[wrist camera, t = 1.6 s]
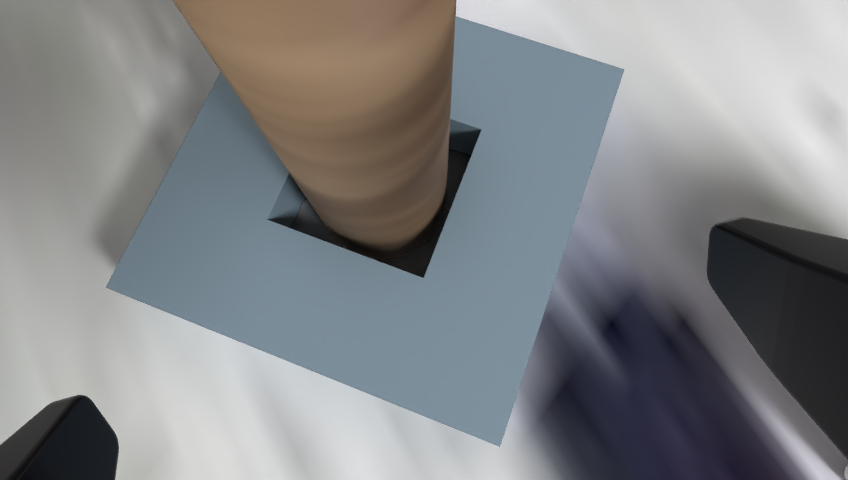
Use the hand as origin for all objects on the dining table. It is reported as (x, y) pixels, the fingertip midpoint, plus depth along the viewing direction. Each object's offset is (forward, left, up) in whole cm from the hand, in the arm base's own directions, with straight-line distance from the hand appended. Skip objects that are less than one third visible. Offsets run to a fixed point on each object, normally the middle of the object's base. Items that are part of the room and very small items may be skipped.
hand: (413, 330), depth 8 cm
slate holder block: (+5, +4, -13) cm, 14 cm away
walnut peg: (+5, +4, -13) cm, 15 cm away
